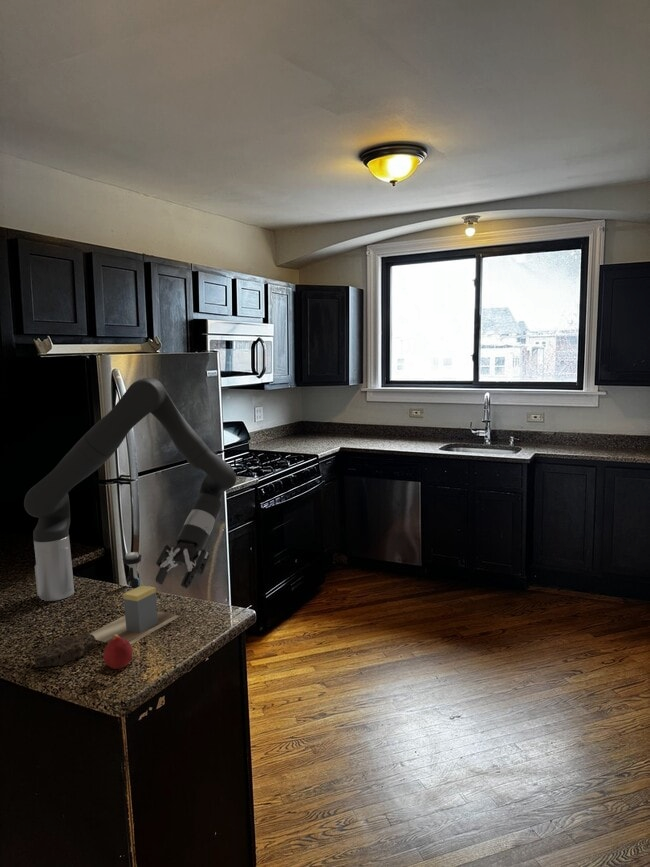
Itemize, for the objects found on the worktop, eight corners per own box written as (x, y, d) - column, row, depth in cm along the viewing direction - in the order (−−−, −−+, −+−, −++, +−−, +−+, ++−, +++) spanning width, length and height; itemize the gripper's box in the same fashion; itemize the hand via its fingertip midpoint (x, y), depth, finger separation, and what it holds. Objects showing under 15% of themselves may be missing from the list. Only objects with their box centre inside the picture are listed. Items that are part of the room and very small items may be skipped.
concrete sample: (102, 649, 135) (100, 628, 135) (78, 671, 125) (76, 648, 125) (56, 648, 137) (54, 627, 137) (29, 670, 127) (26, 647, 127)
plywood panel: (83, 641, 139) (83, 636, 139) (139, 612, 155) (138, 607, 155) (127, 651, 133) (126, 645, 133) (180, 620, 149) (180, 615, 149)
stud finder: (126, 630, 141) (122, 593, 140) (144, 620, 146) (141, 585, 146) (140, 633, 139) (136, 596, 138) (158, 623, 144) (155, 587, 143)
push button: (120, 585, 177) (118, 553, 176) (138, 580, 181) (135, 549, 180) (129, 591, 172) (126, 557, 171) (146, 586, 175) (143, 553, 174)
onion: (126, 661, 129) (123, 625, 128) (139, 669, 124) (135, 633, 124) (100, 671, 125) (97, 635, 124) (112, 680, 120) (109, 643, 120)
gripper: (169, 521, 161) (142, 575, 152) (210, 524, 154) (184, 581, 145) (183, 535, 166) (158, 588, 157) (224, 539, 160) (200, 595, 151)
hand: (171, 585), depth 151 cm, fingers open, 8 cm apart
